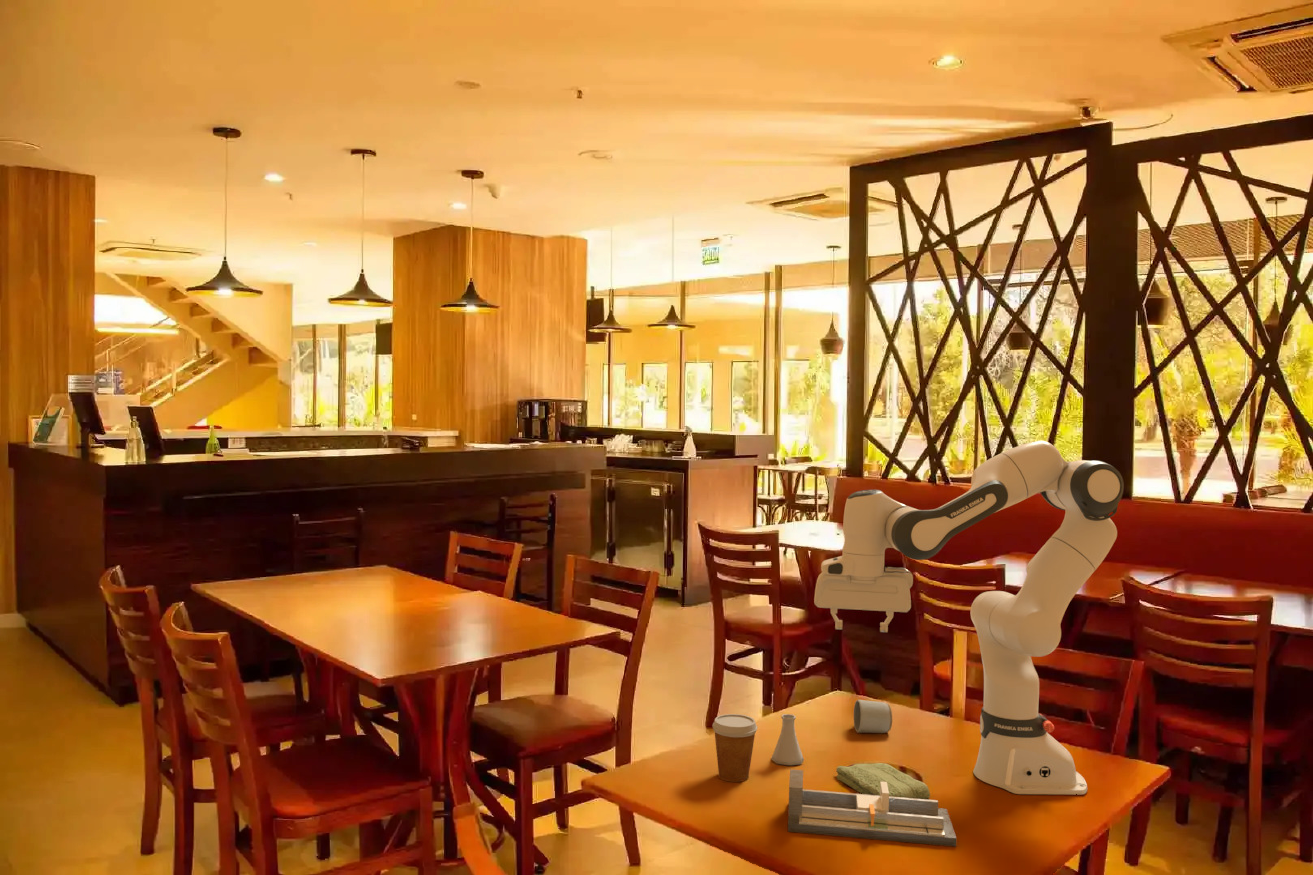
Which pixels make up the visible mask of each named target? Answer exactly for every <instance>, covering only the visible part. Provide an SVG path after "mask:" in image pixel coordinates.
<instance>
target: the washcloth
mask: <svg viewBox="0 0 1313 875" xmlns="http://www.w3.org/2000/svg"><path fill="white" fill-rule="evenodd" d="M836 773H837V775H836V779H837V780H838V781H840V782H841V783H843V784H845V785H847V786H849V787H850V788H851V789H852V790H855V791H856V792H857V793H859V792H860V793H859V794H861V793H862V794H866V795H878V796H880V781H881V782H887V786H888V791H889V796H890V797H902V798H914V799H926V800H928V799H929V798H930V797H931V791H930V789H929V787H928V785H927V784H926V783H924V782H923V781H920V780H917V779H914V777H912V776H911V775H909V774H906V773H905V772H902V771H900V770H898V769H897V768H895V767H893V766H892V765H890V764H889V763H882V762H876V763H855V764H853V765H851V766H845V765H844V766H843V765H838V766H837V767H836Z"/></svg>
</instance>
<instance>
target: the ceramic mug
mask: <svg viewBox="0 0 1313 875" xmlns="http://www.w3.org/2000/svg"><path fill="white" fill-rule="evenodd" d="M853 726H854V730H855V731H856V733H860V734H861V733H863V734H864V733H865V734H867V733H869V734H873V733H874V734H885V733H886V734H887V733H889V732H890V731H891V729H892V726H893V711H892V707H891V705H890V704H889V703H888V702H884V701H872V700H864V699H857V700H855V702H854V707H853Z"/></svg>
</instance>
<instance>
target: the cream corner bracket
mask: <svg viewBox="0 0 1313 875" xmlns="http://www.w3.org/2000/svg"><path fill="white" fill-rule="evenodd" d="M856 810H867V811H870V816H871V826H874V817H875V811H879V812H889V791H888V786H887V782H881V781H880V796H868V795H856Z"/></svg>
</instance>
